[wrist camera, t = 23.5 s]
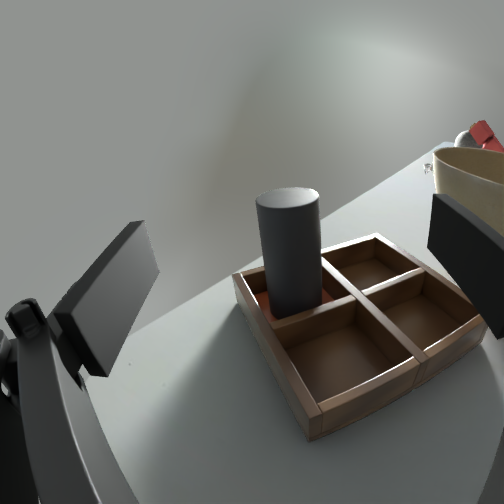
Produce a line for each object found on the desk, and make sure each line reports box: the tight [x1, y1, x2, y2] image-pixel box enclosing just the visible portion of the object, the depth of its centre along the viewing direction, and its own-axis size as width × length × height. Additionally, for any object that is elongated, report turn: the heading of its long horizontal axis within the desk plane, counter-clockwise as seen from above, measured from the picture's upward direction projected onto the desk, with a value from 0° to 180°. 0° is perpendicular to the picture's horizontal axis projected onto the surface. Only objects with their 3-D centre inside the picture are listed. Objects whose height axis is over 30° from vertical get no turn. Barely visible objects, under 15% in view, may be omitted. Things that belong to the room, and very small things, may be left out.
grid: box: [232, 233, 488, 442], centre depth 24 cm, size 16×16×3 cm
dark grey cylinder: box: [256, 187, 322, 320], centre depth 24 cm, size 5×5×10 cm
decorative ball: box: [455, 131, 483, 149], centre depth 63 cm, size 10×10×10 cm
